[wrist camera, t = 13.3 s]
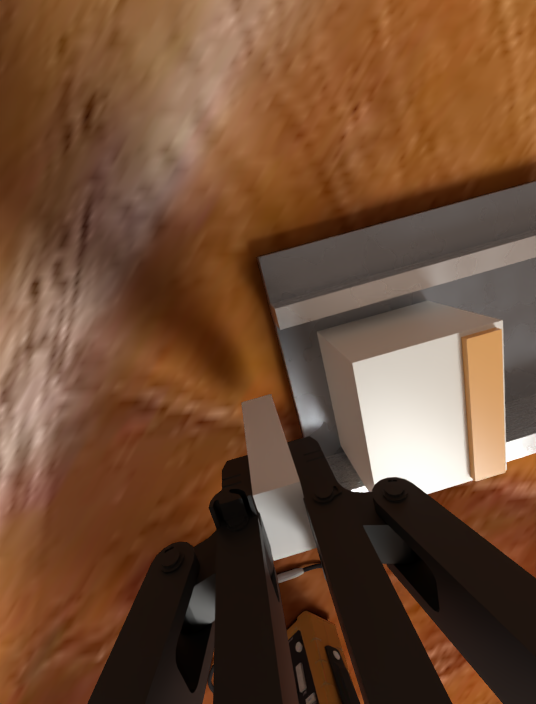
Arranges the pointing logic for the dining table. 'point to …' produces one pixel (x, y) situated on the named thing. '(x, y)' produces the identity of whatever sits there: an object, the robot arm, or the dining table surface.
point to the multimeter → (316, 657)
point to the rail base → (411, 299)
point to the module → (419, 395)
